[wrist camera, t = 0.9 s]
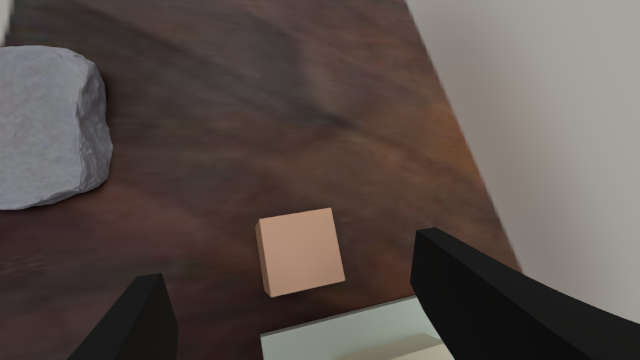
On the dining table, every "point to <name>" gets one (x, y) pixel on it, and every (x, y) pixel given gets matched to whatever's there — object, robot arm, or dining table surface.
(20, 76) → the stone block
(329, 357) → the base plate
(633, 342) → the robot arm
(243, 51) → the dining table surface
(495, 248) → the dining table surface
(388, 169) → the dining table surface
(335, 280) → the top brick
